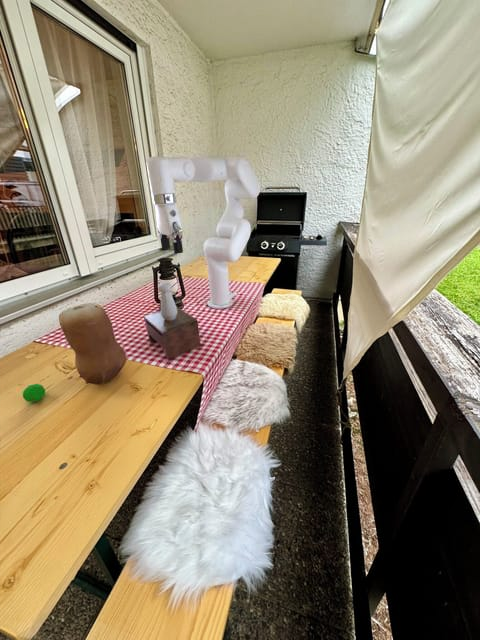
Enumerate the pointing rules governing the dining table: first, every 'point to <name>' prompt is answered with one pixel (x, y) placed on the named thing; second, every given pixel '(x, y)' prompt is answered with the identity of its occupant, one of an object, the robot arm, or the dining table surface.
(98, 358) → the butternut squash
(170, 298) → the salt shaker
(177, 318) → the dark walnut cube
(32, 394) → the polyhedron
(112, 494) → the dining table surface
